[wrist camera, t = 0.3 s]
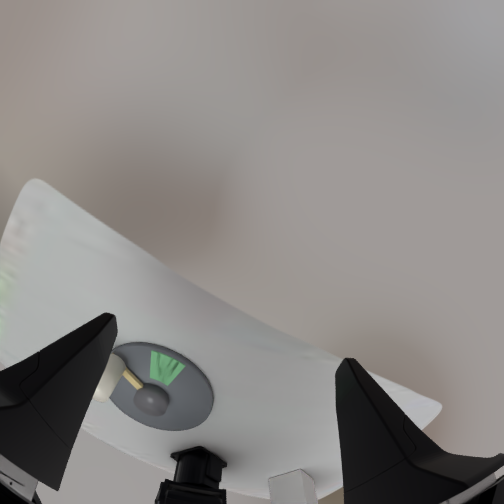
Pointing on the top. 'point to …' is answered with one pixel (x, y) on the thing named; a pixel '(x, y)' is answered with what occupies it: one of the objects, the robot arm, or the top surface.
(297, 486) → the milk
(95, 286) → the top surface
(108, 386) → the peg
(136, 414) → the grey round disc
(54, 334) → the top surface
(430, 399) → the top surface
